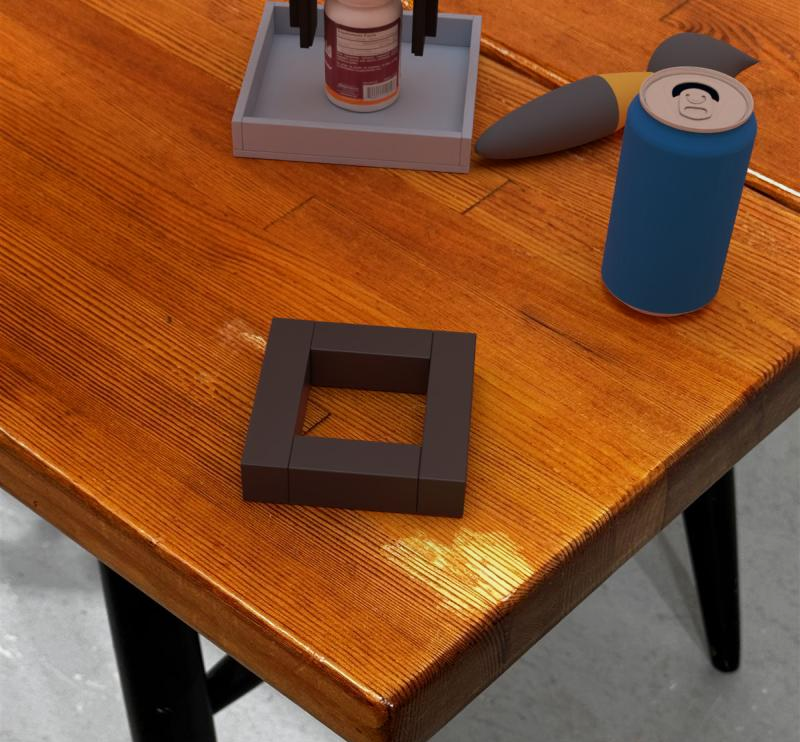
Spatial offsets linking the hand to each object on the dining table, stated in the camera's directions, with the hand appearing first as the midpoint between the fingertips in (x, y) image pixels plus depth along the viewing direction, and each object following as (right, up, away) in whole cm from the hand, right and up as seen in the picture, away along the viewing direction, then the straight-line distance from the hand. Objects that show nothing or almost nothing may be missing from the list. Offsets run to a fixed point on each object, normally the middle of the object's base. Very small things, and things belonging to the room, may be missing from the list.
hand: (363, 38), depth 89 cm
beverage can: (+16, -17, -9) cm, 25 cm away
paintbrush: (+16, -5, +2) cm, 17 cm away
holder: (0, -25, -17) cm, 30 cm away
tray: (0, -3, +3) cm, 4 cm away
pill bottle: (0, -3, +3) cm, 4 cm away
